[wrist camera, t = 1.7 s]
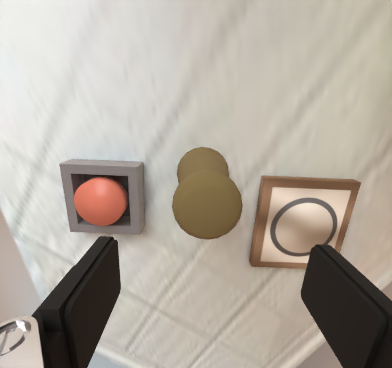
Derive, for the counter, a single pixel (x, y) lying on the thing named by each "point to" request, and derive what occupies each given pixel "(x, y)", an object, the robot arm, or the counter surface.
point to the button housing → (78, 167)
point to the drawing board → (300, 218)
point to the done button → (101, 200)
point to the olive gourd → (206, 195)
